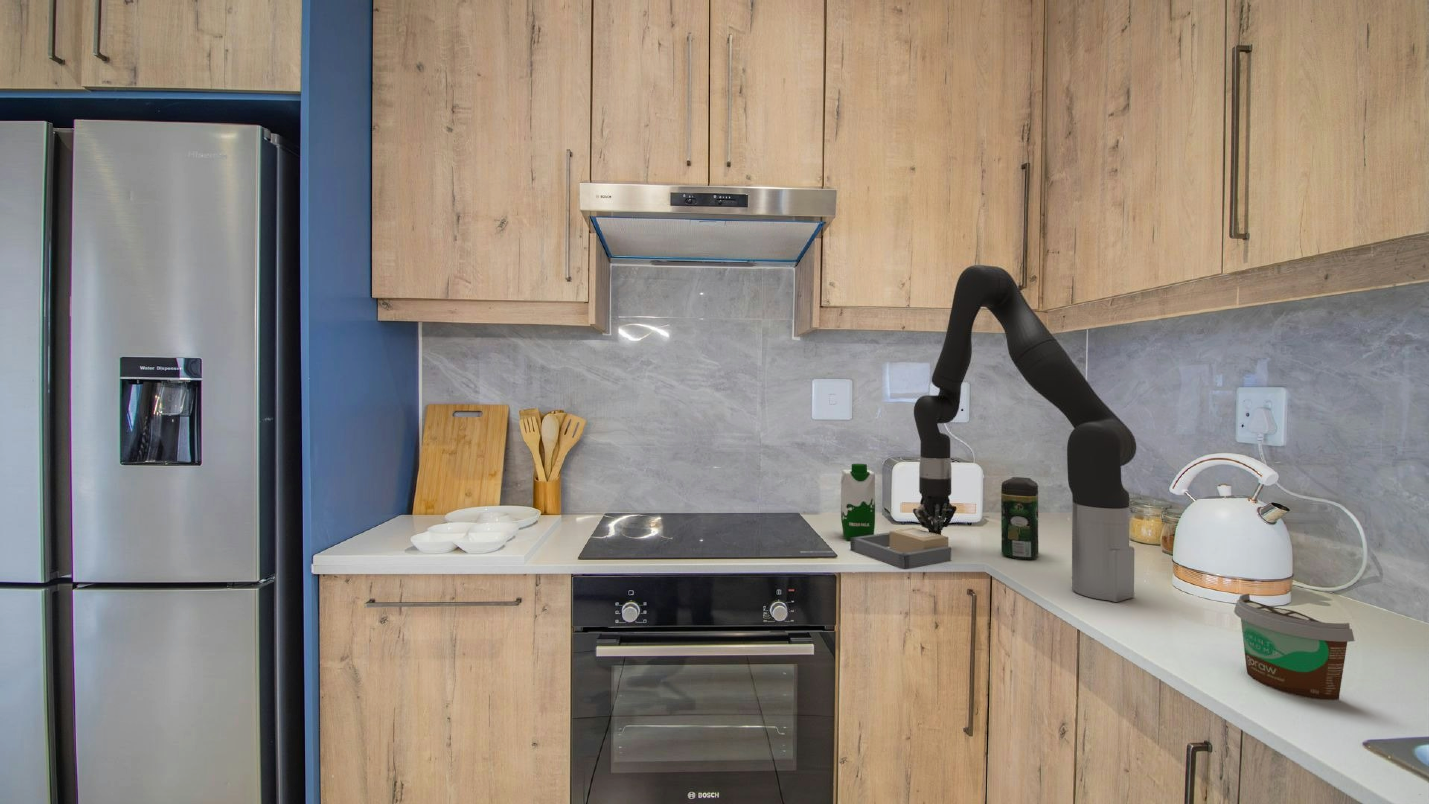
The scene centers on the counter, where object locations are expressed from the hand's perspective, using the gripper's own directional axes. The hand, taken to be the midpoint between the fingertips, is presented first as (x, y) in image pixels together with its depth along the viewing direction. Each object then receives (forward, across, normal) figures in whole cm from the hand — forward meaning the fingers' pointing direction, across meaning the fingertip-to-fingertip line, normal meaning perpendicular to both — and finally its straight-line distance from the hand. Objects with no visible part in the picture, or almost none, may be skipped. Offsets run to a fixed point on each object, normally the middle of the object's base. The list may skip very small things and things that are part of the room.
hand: (934, 544), depth 147 cm
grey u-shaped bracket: (+1, -11, 0) cm, 11 cm away
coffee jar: (+1, +14, -13) cm, 19 cm away
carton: (+1, -7, -1) cm, 7 cm away
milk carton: (+1, -10, +18) cm, 20 cm away
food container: (+1, -12, -70) cm, 71 cm away
